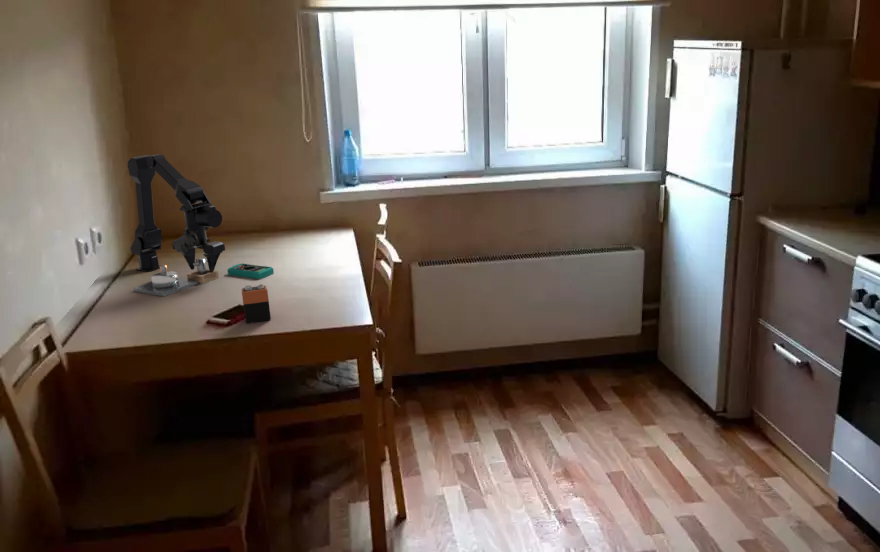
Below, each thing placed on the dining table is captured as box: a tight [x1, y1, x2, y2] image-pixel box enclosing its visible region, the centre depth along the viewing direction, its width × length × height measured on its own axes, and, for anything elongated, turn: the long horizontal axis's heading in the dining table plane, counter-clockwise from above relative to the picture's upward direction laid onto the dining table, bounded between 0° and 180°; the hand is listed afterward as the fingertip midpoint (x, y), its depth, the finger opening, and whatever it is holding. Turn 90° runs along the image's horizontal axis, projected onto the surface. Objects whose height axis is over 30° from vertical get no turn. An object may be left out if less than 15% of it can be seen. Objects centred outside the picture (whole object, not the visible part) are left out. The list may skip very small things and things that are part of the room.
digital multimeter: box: [227, 263, 275, 280], centre depth 260 cm, size 7×15×3 cm, turn 61°
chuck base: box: [133, 277, 199, 297], centre depth 250 cm, size 14×14×1 cm
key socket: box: [186, 268, 220, 285], centre depth 256 cm, size 7×7×2 cm
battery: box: [241, 284, 272, 324], centre depth 215 cm, size 4×7×10 cm, turn 106°
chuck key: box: [193, 257, 208, 275], centre depth 256 cm, size 3×6×7 cm, turn 149°
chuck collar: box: [151, 264, 179, 288], centre depth 252 cm, size 16×8×6 cm, turn 21°
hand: (202, 270), depth 256 cm, fingers open, 9 cm apart
